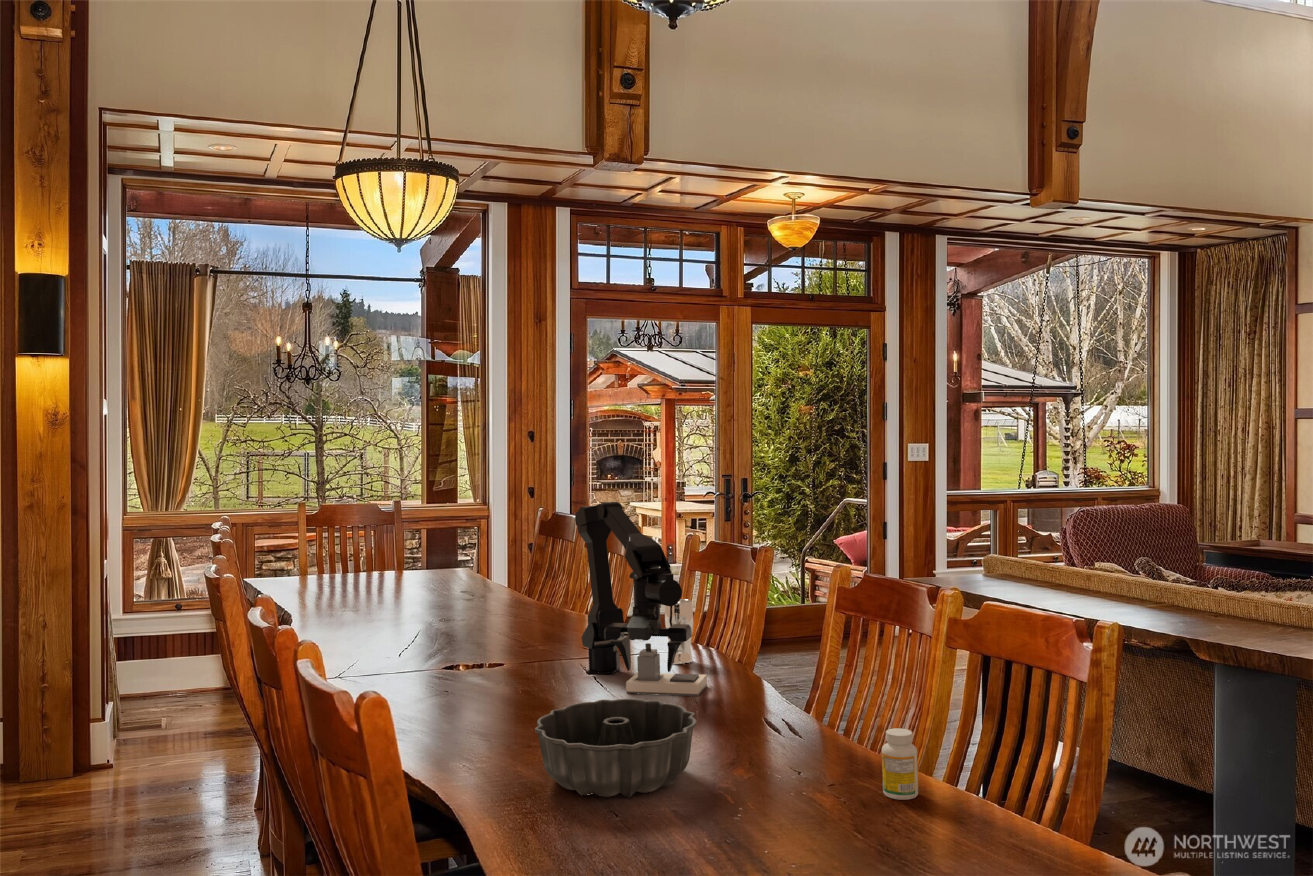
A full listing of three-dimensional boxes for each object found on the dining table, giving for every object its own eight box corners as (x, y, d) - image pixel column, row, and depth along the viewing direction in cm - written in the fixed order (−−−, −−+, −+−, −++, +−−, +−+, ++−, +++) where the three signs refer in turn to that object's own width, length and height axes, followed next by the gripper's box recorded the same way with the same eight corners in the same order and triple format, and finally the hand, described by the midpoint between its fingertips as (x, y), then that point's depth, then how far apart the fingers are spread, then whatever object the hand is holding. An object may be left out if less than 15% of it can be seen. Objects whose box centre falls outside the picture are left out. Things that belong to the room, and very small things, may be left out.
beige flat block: (626, 693, 224) (625, 680, 224) (637, 683, 233) (637, 670, 233) (698, 696, 220) (697, 682, 220) (707, 686, 228) (706, 672, 228)
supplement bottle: (908, 803, 154) (906, 739, 154) (876, 796, 157) (874, 733, 157) (924, 793, 158) (922, 730, 158) (892, 786, 162) (891, 725, 162)
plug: (638, 688, 226) (636, 645, 226) (643, 684, 230) (641, 641, 230) (655, 689, 225) (654, 646, 225) (660, 685, 229) (659, 642, 229)
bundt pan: (685, 813, 153) (683, 746, 153) (515, 807, 158) (513, 742, 158) (708, 757, 179) (706, 699, 179) (561, 753, 184) (560, 697, 184)
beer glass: (692, 665, 249) (690, 603, 249) (663, 665, 250) (661, 603, 250) (696, 659, 256) (694, 598, 256) (669, 658, 257) (667, 598, 257)
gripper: (595, 606, 222) (597, 678, 222) (679, 607, 217) (681, 681, 217) (610, 597, 232) (612, 666, 233) (691, 598, 228) (693, 669, 228)
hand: (648, 671), depth 227 cm, fingers open, 9 cm apart
